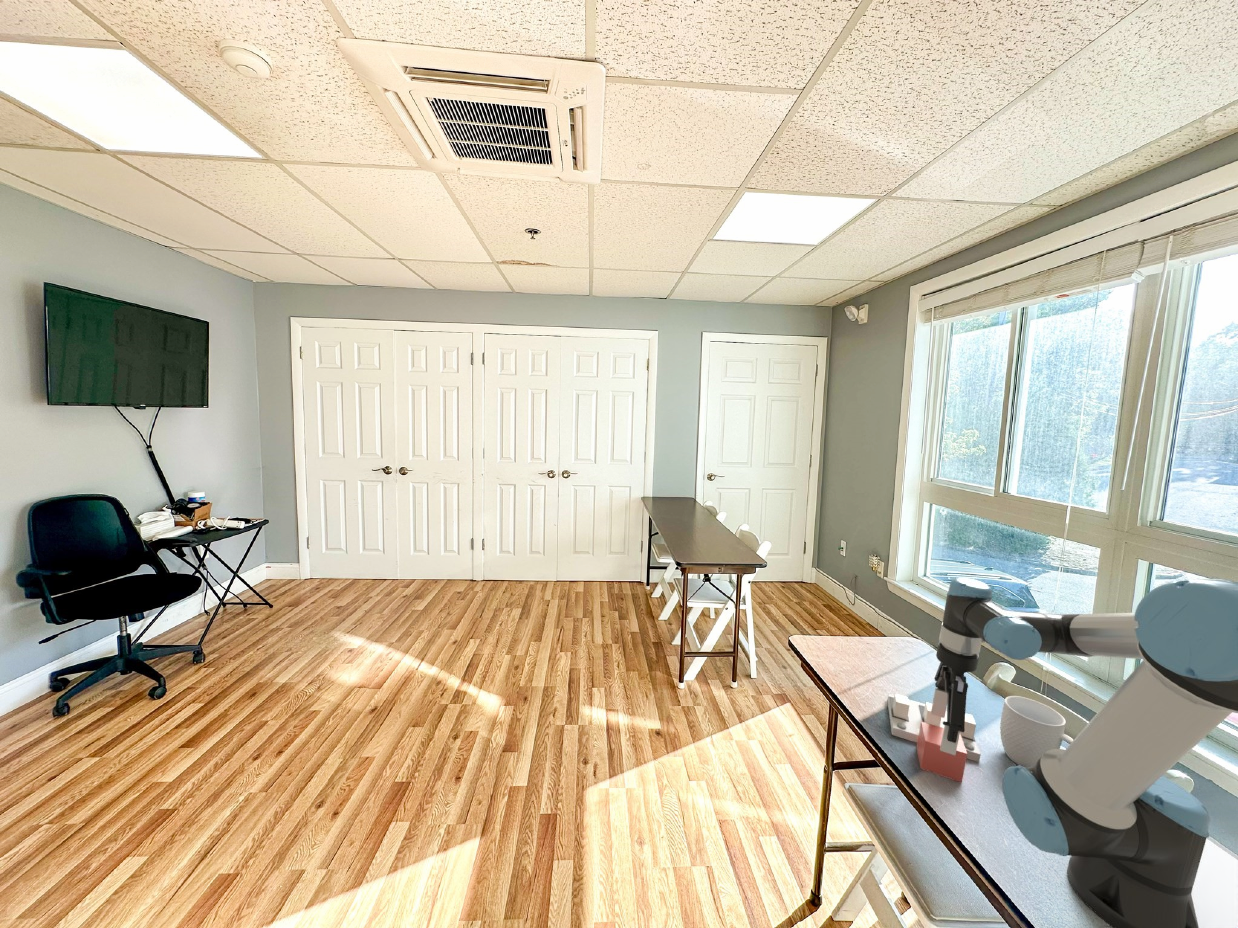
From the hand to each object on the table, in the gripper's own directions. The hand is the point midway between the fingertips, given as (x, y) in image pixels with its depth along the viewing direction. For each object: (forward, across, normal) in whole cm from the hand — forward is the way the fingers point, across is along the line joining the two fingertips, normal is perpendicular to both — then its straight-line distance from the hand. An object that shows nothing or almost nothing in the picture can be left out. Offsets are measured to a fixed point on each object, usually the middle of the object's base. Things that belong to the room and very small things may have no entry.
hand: (942, 732), depth 110 cm
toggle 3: (+6, +12, -7) cm, 15 cm away
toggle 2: (+6, +13, 0) cm, 14 cm away
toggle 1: (+6, +12, +7) cm, 15 cm away
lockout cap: (+8, -1, 0) cm, 8 cm away
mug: (+8, +11, -20) cm, 25 cm away
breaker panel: (+8, +13, 0) cm, 16 cm away
